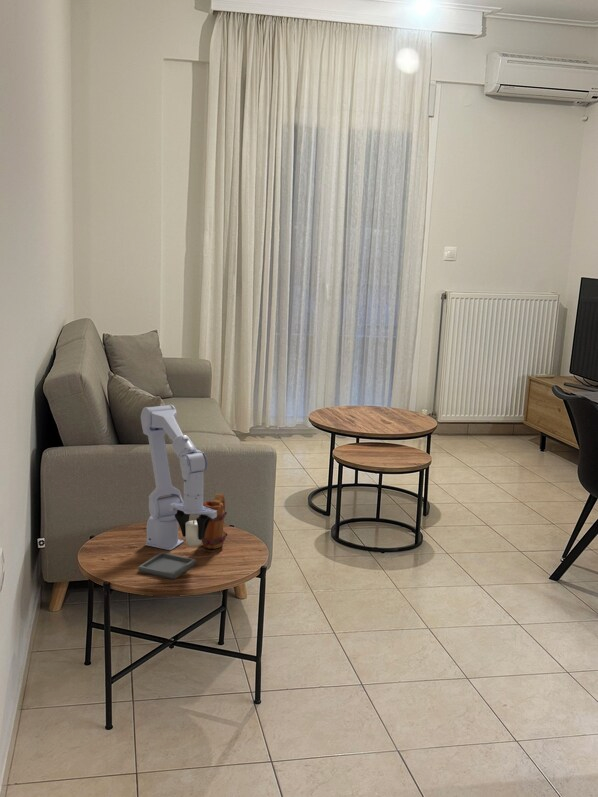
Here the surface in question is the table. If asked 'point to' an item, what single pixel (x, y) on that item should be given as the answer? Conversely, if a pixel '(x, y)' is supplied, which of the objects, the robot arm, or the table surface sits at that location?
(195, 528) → the candle
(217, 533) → the mug
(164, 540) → the robot arm
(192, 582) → the table surface
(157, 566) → the tray
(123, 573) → the table surface
